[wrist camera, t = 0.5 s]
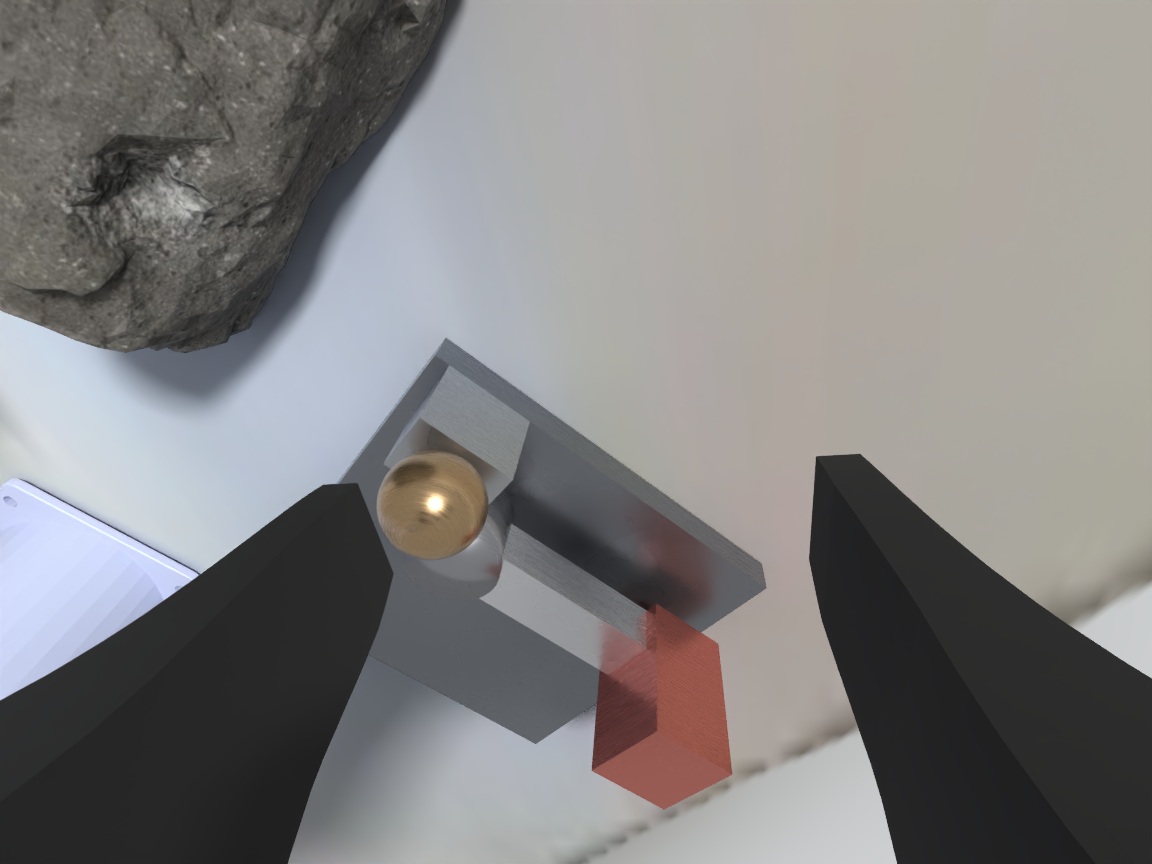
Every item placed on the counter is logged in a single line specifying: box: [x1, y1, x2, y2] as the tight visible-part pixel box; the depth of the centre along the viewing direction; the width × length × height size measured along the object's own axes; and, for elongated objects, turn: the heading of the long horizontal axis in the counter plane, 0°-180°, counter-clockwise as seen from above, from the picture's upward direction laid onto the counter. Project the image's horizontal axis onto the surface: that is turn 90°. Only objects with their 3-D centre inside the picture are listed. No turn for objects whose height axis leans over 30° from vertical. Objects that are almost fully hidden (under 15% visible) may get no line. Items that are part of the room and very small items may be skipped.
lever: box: [403, 491, 732, 809], centre depth 21 cm, size 12×3×5 cm, turn 52°
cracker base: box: [337, 338, 766, 744], centre depth 23 cm, size 14×14×7 cm
